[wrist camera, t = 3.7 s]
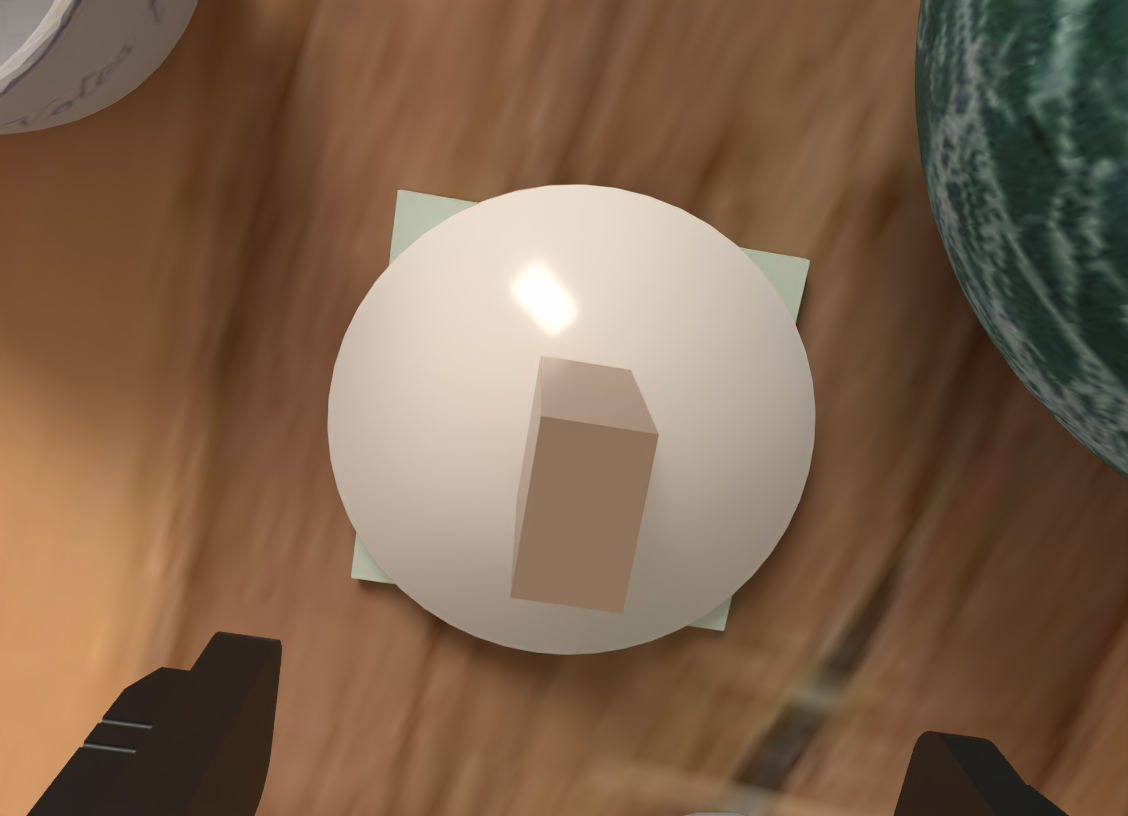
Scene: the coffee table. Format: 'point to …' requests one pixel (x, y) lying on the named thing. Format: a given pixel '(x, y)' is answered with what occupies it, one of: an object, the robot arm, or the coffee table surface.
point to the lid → (571, 419)
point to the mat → (429, 210)
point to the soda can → (715, 814)
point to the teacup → (79, 55)
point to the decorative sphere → (1036, 192)
